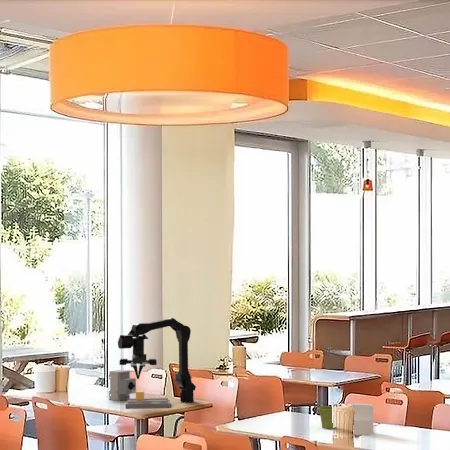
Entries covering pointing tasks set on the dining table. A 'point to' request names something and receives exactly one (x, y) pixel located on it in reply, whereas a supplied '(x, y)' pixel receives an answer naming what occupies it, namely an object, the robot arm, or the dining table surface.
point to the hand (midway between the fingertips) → (137, 379)
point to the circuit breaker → (121, 385)
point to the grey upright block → (363, 419)
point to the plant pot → (326, 417)
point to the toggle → (139, 395)
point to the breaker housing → (148, 403)
